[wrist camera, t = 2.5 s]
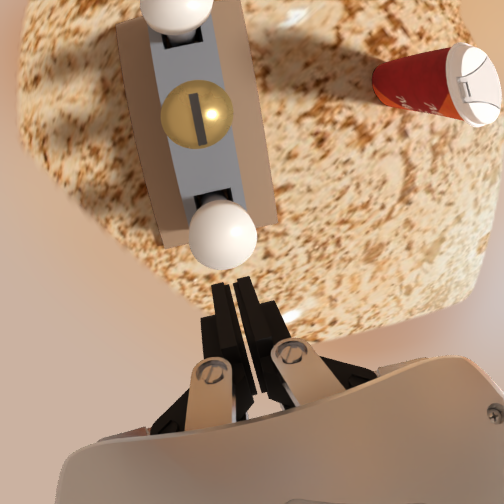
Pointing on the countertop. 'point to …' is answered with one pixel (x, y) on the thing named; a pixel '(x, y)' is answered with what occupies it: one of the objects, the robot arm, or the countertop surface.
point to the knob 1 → (176, 18)
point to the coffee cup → (442, 84)
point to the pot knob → (197, 114)
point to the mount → (206, 159)
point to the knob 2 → (221, 232)
